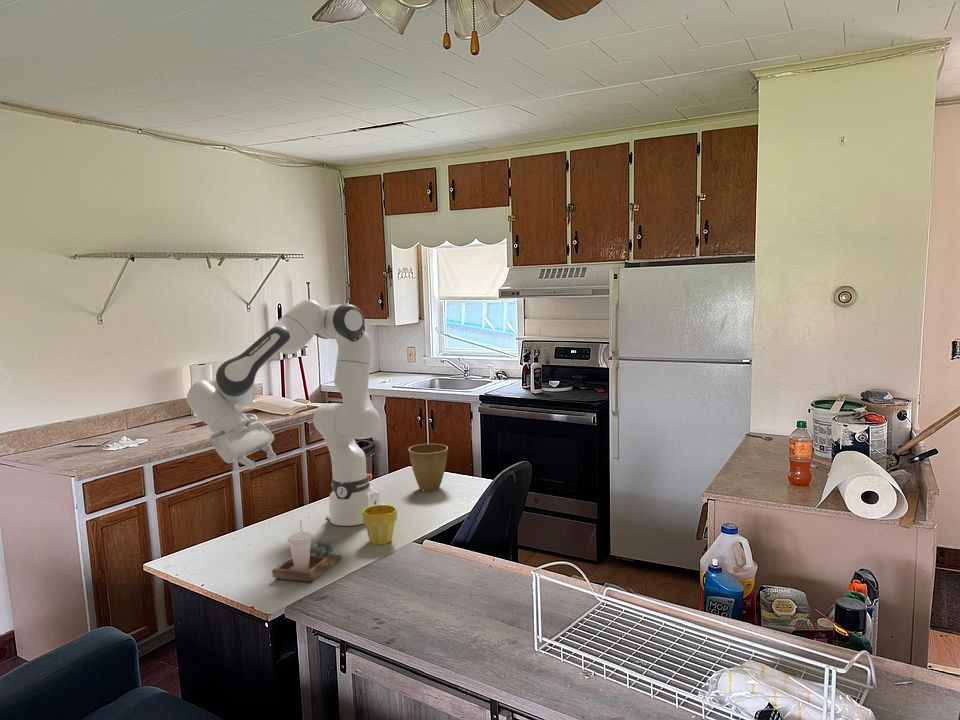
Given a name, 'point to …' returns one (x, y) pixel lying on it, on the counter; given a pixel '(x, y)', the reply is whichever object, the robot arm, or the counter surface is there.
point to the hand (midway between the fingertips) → (264, 462)
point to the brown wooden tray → (317, 564)
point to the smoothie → (300, 549)
